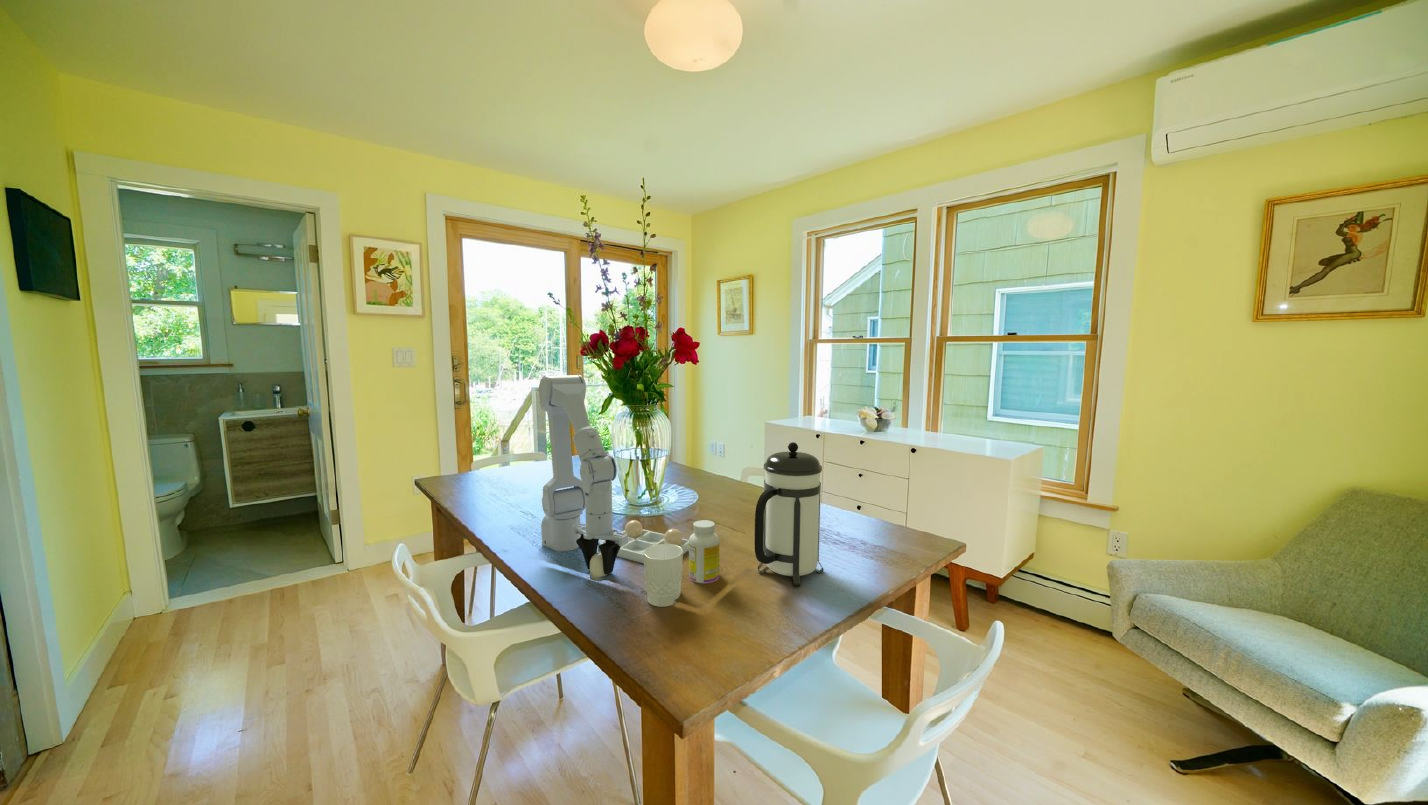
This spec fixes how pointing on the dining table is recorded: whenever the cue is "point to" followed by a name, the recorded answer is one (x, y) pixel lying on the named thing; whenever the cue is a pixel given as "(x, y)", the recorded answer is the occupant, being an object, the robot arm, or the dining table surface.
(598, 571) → the cream egg
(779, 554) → the coffee press
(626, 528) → the brown egg back left
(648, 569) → the white cup
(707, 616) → the dining table surface
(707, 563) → the supplement bottle
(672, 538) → the brown egg back right
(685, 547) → the egg carton
